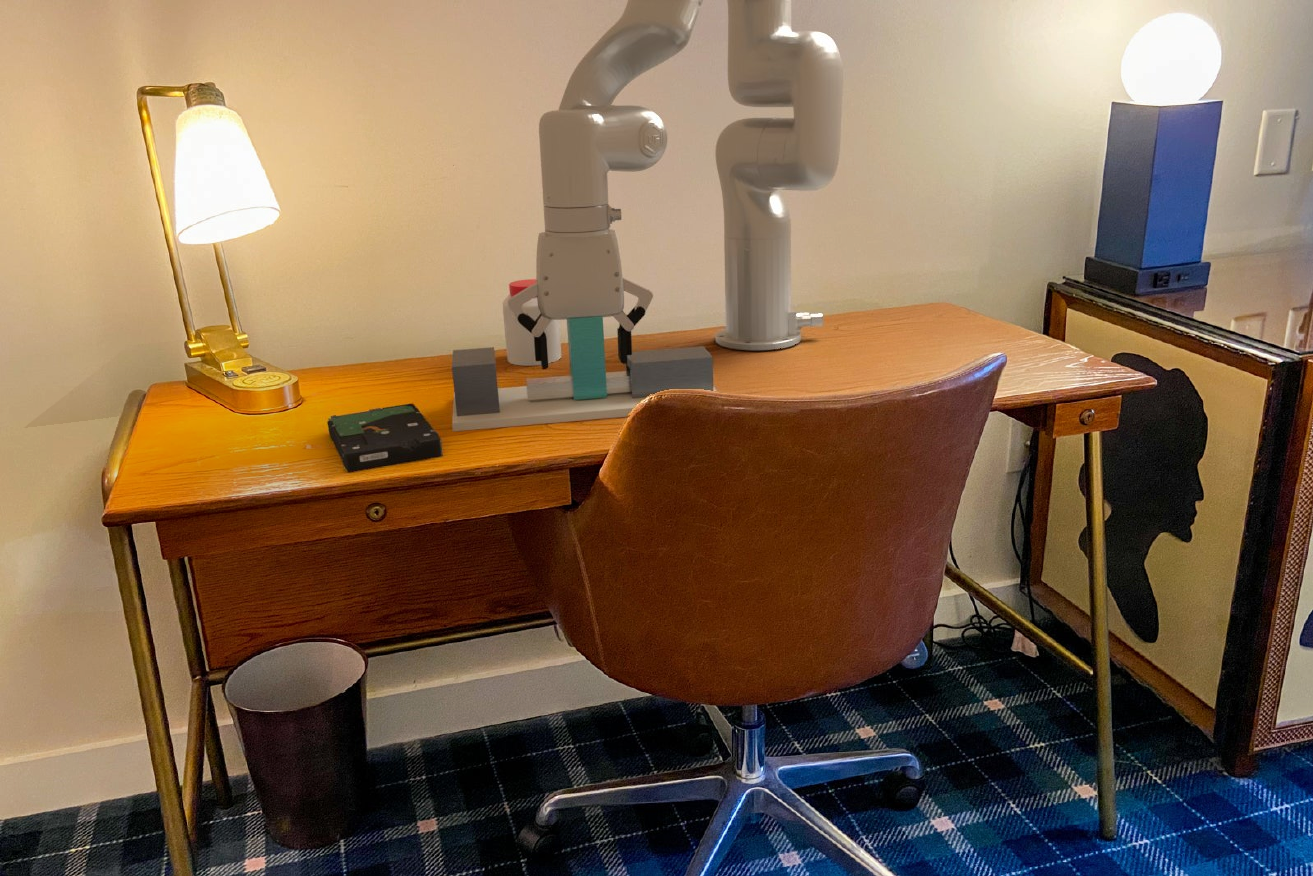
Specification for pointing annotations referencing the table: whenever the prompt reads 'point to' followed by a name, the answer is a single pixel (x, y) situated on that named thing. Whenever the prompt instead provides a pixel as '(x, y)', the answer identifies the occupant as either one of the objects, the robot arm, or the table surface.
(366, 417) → the disk drive
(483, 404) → the socket
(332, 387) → the table surface
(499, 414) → the base board
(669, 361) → the sleeve
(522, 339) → the pill bottle
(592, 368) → the bolt
